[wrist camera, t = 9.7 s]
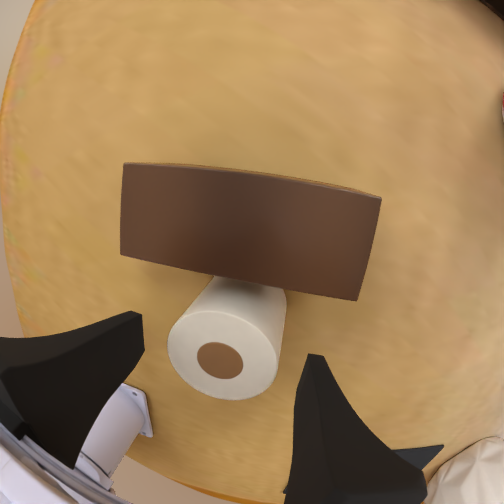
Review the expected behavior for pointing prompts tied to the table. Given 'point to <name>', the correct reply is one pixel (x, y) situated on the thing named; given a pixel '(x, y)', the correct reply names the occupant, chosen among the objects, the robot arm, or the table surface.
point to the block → (249, 226)
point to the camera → (495, 6)
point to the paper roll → (230, 339)
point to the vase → (471, 476)
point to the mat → (416, 456)
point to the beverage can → (503, 108)
